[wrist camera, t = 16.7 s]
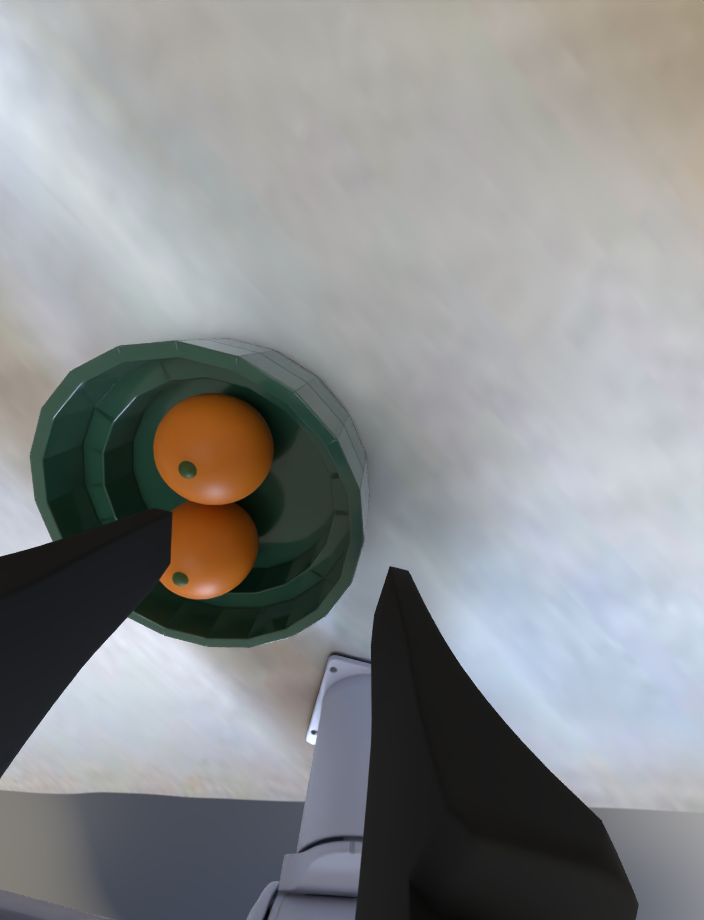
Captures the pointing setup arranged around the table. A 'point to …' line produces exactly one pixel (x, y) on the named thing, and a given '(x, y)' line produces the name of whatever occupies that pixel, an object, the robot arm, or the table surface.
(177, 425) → the clementine
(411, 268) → the table surface
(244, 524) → the clementine
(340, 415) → the bowl
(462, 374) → the table surface
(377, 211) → the table surface
